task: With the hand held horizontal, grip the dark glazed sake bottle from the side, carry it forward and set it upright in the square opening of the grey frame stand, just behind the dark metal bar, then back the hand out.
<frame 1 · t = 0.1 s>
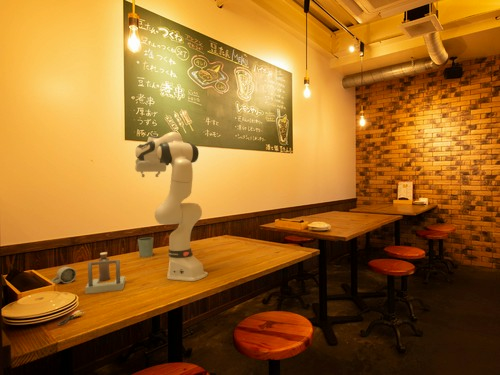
hand: (149, 176, 216), 54 cm above the table, tool tilted 30°, fingers open, 8 cm apart
grey frame stand: (107, 286, 154), on the table
drinking glass: (145, 256, 214), on the table
ceramic mug: (63, 282, 162), on the table
sake bottle: (104, 279, 165), on the table
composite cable: (69, 320, 118), on the table
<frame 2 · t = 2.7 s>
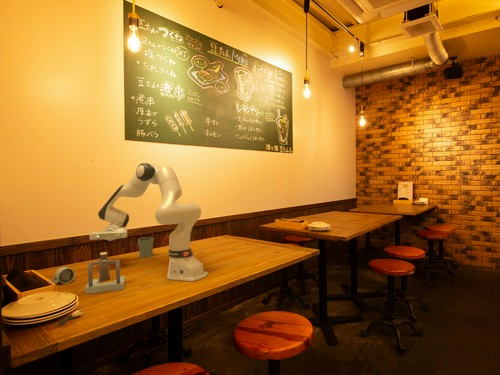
hand: (107, 237, 176), 20 cm above the table, tool horizontal, fingers open, 8 cm apart
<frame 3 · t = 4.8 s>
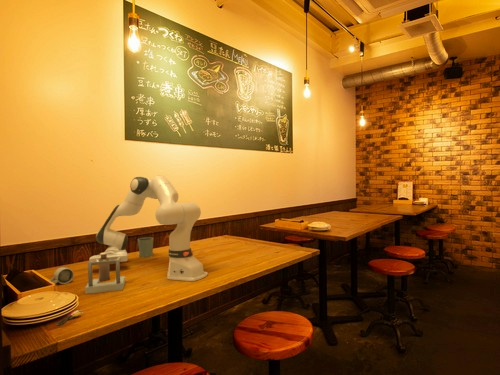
hand: (107, 261, 174), 7 cm above the table, tool horizontal, fingers open, 8 cm apart
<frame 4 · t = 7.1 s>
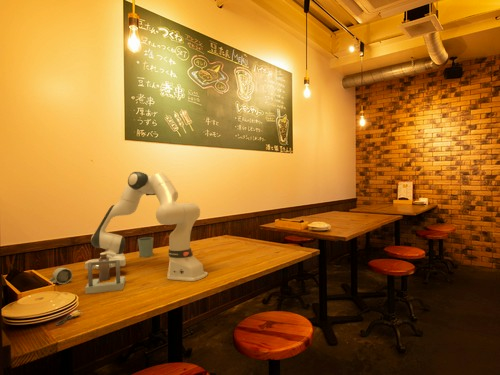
hand: (103, 266, 164), 7 cm above the table, tool horizontal, fingers closed on sake bottle, 5 cm apart
sake bottle: (104, 279, 165), on the table, touching gripper
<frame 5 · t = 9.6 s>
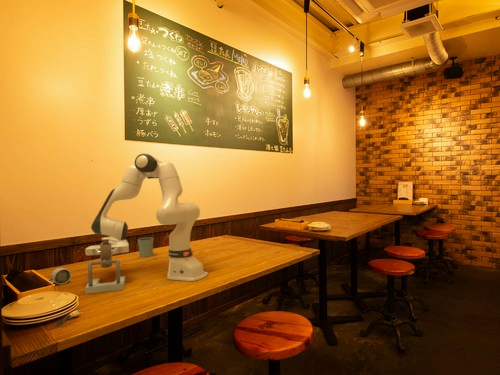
hand: (105, 252, 153), 17 cm above the table, tool horizontal, fingers closed on sake bottle, 5 cm apart
sake bottle: (106, 266, 154), point 10 cm above the table, touching gripper
when the fingers open (8 cm above the table, at t = 12.0 s): sake bottle drops 1 cm, on the table.
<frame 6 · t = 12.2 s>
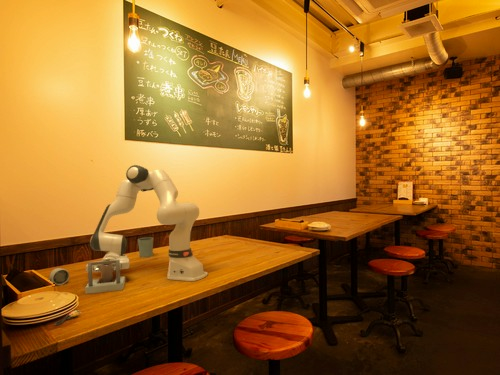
hand: (106, 269, 153), 8 cm above the table, tool horizontal, fingers open, 7 cm apart
sake bottle: (107, 286, 154), on the table
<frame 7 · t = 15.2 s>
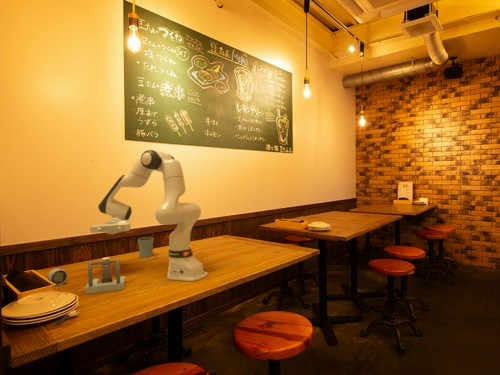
hand: (109, 229, 165), 26 cm above the table, tool horizontal, fingers open, 8 cm apart
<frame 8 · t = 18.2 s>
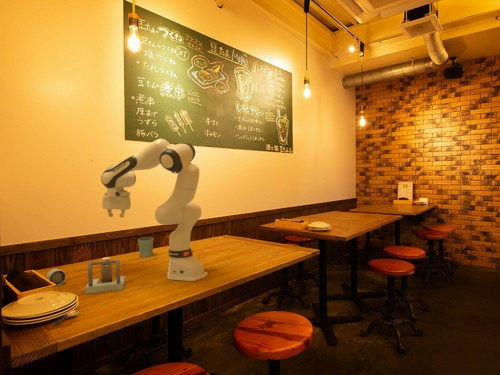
hand: (116, 217, 179), 31 cm above the table, tool pointing down, fingers open, 8 cm apart
at the end: sake bottle 0.1 cm from the grey frame stand (horizontally); sake bottle tilted 0°; sake bottle on the table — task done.
